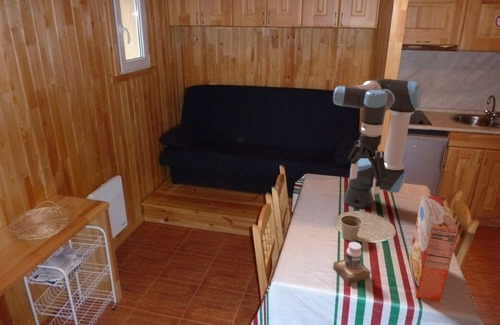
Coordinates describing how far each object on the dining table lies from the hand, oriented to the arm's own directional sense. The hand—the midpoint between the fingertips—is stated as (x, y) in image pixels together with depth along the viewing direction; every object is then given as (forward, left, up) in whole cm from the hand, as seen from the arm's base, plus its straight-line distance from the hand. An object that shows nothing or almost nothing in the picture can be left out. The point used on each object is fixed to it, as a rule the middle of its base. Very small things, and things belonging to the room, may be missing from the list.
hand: (363, 185), depth 149 cm
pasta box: (+22, +16, -33) cm, 43 cm away
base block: (+9, -8, -33) cm, 35 cm away
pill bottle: (+9, -8, -30) cm, 32 cm away
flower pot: (-12, +6, -33) cm, 36 cm away
